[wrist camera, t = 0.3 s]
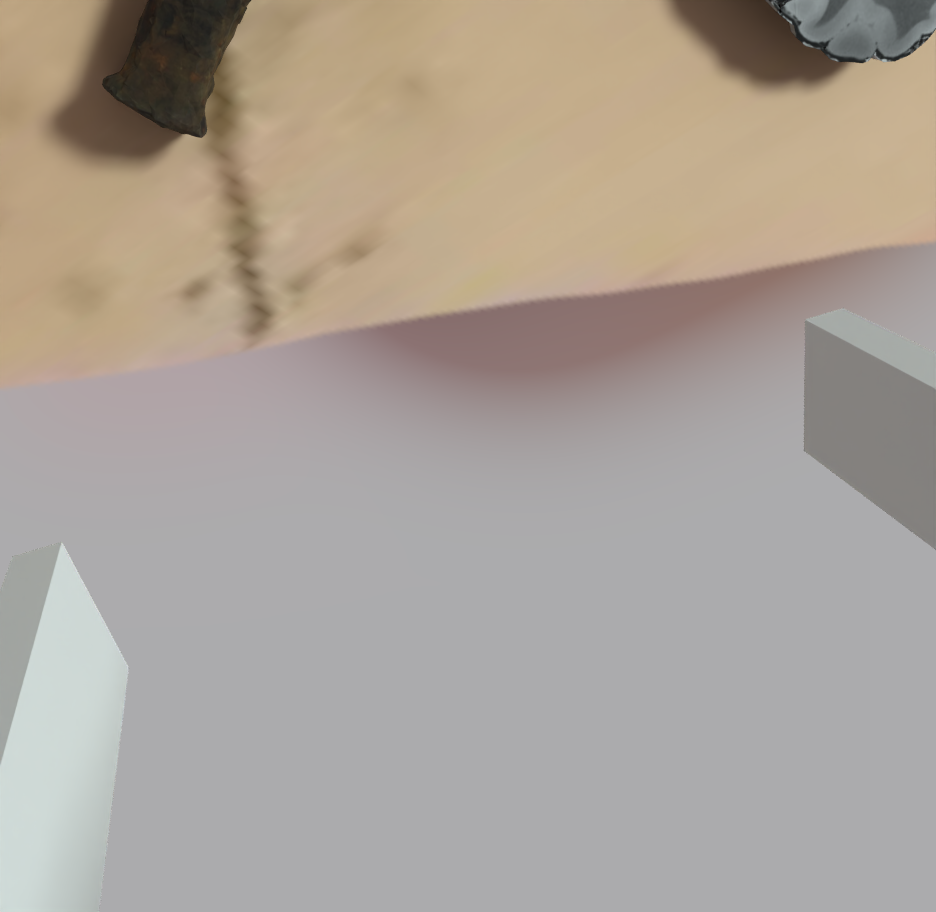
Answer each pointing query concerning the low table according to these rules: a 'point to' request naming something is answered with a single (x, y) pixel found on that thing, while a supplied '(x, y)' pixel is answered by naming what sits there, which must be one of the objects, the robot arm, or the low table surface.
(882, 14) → the brain slice
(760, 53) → the low table surface
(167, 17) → the hand tool
